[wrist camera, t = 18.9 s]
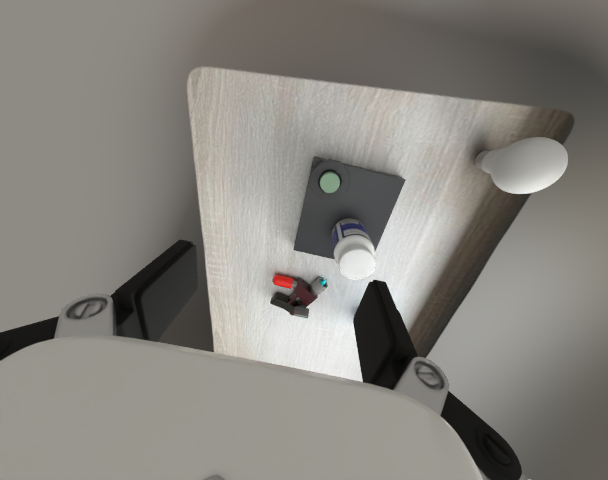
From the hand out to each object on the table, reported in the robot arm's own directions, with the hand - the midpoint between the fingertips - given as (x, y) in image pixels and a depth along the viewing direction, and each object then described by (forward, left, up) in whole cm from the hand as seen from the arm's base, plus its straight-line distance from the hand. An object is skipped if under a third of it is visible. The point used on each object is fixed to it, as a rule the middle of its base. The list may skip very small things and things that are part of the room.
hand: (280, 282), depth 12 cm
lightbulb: (-9, +24, -27) cm, 37 cm away
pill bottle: (+7, +9, -25) cm, 27 cm away
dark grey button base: (+4, +7, -27) cm, 28 cm away
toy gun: (+21, +2, -27) cm, 34 cm away
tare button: (-1, +3, -23) cm, 24 cm away
